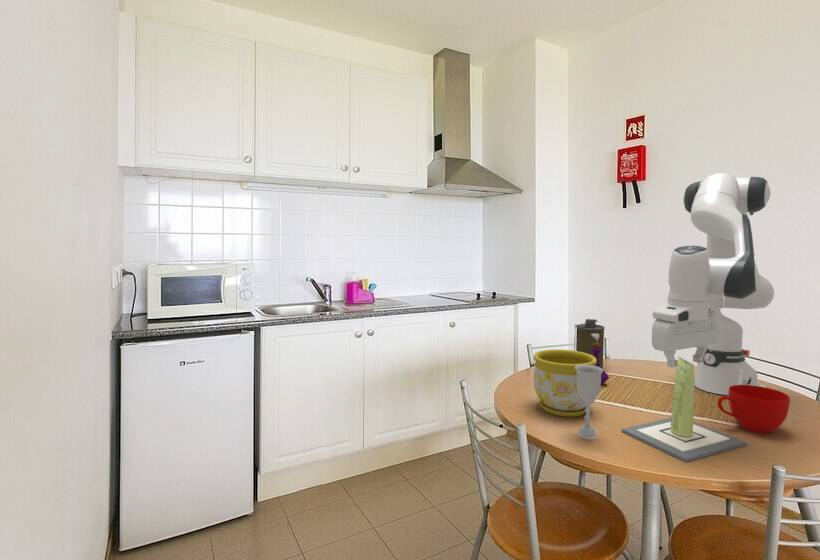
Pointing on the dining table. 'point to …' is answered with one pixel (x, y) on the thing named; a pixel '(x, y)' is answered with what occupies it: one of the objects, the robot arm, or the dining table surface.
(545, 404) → the flowerpot
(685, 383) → the tube
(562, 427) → the dining table surface
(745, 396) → the ceramic cup
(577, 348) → the canister
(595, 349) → the perfume bottle
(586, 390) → the chalice
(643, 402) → the dining table surface
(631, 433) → the picture frame
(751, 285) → the robot arm
